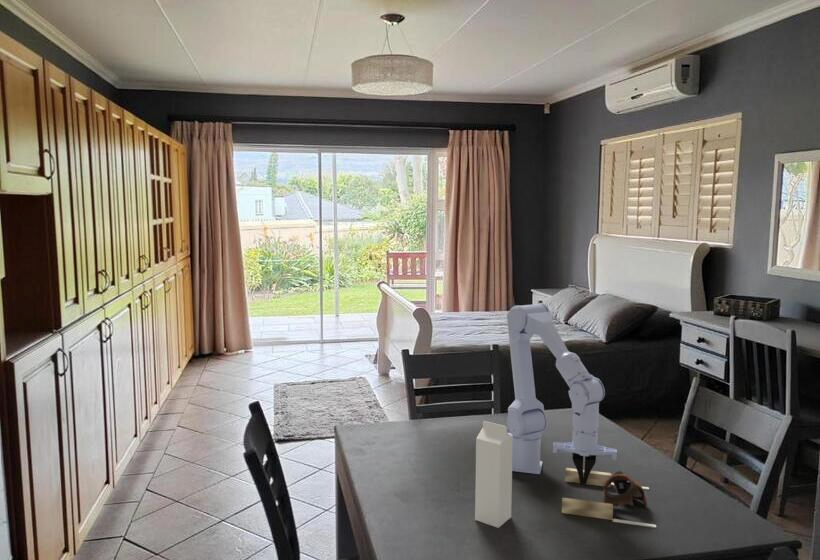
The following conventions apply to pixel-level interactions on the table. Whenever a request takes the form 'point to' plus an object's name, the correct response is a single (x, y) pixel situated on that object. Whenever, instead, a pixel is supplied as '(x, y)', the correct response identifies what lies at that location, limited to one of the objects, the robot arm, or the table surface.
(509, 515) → the milk
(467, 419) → the table surface
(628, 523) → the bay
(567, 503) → the cradle
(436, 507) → the table surface
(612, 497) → the pottery mug
